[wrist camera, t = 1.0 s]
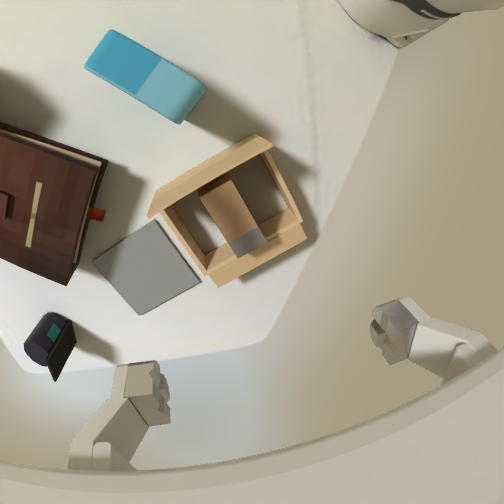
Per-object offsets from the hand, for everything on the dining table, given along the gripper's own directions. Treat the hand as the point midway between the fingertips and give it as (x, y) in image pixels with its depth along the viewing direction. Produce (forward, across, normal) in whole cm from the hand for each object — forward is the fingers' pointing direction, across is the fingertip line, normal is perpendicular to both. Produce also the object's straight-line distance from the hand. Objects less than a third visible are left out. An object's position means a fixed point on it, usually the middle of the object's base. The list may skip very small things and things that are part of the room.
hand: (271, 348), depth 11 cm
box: (+34, -2, +5) cm, 34 cm away
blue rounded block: (+34, +5, -13) cm, 36 cm away
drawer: (+34, -2, +6) cm, 34 cm away
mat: (+34, +12, +13) cm, 38 cm away
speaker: (+35, +33, +21) cm, 52 cm away
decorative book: (+35, +28, -4) cm, 45 cm away
